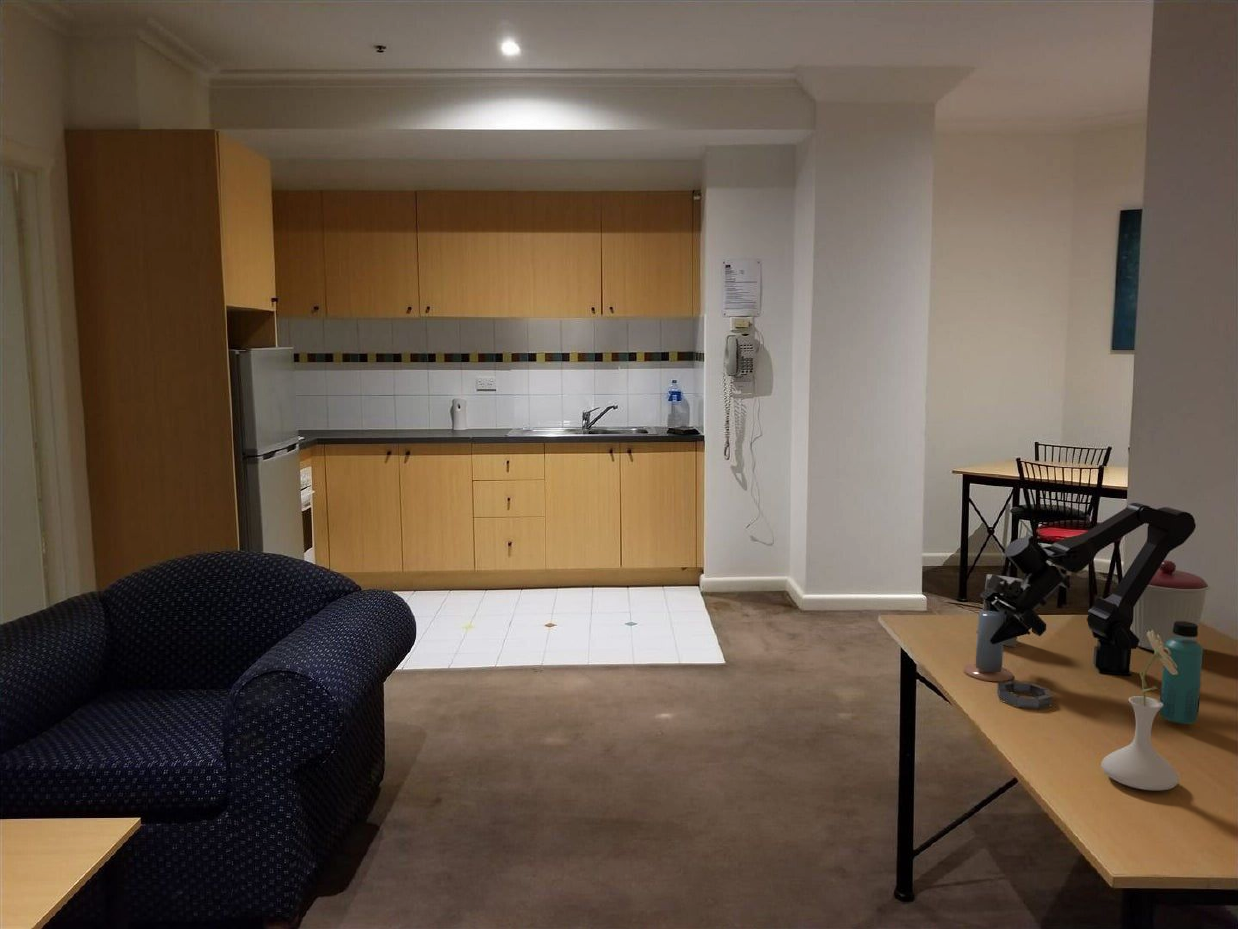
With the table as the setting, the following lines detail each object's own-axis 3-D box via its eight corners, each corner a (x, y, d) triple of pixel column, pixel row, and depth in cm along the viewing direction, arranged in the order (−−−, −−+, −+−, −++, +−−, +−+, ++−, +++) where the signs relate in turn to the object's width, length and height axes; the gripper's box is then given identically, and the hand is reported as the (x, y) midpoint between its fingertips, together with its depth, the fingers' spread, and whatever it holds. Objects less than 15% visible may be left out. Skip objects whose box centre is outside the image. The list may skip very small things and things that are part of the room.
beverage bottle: (1202, 733, 180) (1213, 629, 178) (1163, 729, 182) (1173, 626, 179) (1189, 719, 187) (1199, 619, 184) (1152, 716, 188) (1161, 616, 185)
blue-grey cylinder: (1005, 667, 211) (1009, 614, 209) (996, 673, 207) (999, 619, 205) (981, 661, 214) (984, 609, 213) (971, 667, 210) (974, 614, 209)
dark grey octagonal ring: (1046, 693, 199) (1046, 684, 199) (1054, 711, 190) (1054, 701, 189) (995, 688, 202) (996, 679, 201) (1000, 705, 192) (1001, 695, 192)
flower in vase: (1176, 804, 152) (1191, 651, 149) (1096, 786, 158) (1109, 638, 155) (1179, 773, 163) (1194, 630, 160) (1104, 757, 169) (1117, 618, 166)
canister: (1206, 644, 234) (1214, 559, 231) (1201, 664, 219) (1210, 574, 216) (1122, 630, 244) (1130, 548, 241) (1112, 649, 229) (1120, 562, 226)
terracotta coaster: (1009, 668, 214) (1009, 666, 214) (1015, 684, 204) (1015, 681, 204) (961, 664, 217) (961, 661, 217) (965, 679, 207) (965, 676, 207)
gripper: (991, 552, 217) (941, 601, 217) (1036, 573, 199) (982, 626, 199) (1021, 586, 219) (972, 634, 219) (1069, 609, 201) (1016, 662, 201)
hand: (984, 638), depth 209 cm, fingers closed on blue-grey cylinder, 5 cm apart
